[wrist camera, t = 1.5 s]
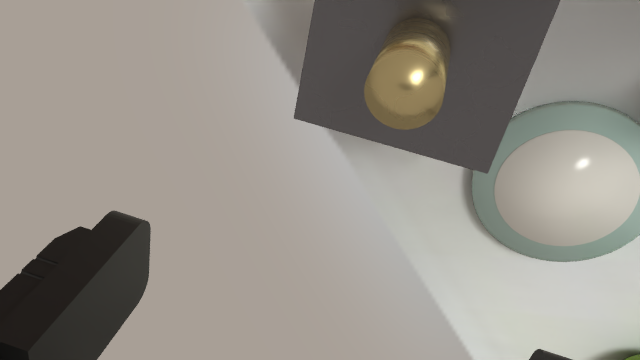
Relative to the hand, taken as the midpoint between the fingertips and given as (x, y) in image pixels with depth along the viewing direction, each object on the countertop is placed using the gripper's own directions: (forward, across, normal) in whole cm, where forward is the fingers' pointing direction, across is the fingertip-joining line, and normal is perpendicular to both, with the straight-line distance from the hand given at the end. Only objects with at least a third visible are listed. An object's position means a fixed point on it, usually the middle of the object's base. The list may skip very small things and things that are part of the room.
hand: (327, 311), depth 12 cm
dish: (+28, -12, +10) cm, 32 cm away
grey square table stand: (+28, 0, 0) cm, 28 cm away
